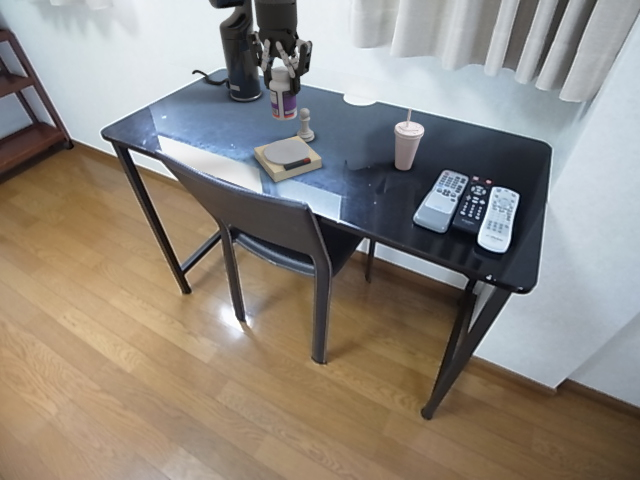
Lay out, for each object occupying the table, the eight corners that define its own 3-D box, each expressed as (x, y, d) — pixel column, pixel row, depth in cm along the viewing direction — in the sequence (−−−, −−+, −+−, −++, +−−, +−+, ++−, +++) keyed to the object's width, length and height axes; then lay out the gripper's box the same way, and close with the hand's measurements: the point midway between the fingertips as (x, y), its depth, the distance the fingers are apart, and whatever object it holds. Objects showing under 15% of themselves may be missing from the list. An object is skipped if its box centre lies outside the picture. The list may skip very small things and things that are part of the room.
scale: (254, 157, 91) (253, 144, 89) (298, 144, 95) (297, 132, 93) (275, 183, 83) (274, 170, 81) (322, 167, 88) (322, 155, 85)
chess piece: (294, 135, 98) (292, 105, 93) (311, 132, 99) (310, 103, 94) (299, 143, 95) (297, 114, 90) (316, 140, 96) (316, 111, 91)
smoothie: (393, 156, 91) (401, 100, 81) (419, 161, 89) (431, 105, 79) (386, 170, 87) (394, 113, 77) (413, 176, 85) (425, 118, 75)
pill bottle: (298, 110, 83) (296, 65, 76) (295, 122, 79) (292, 75, 72) (274, 109, 84) (270, 64, 77) (270, 121, 80) (265, 74, 73)
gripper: (229, -4, 66) (244, 91, 78) (298, 6, 61) (302, 105, 73) (255, -13, 70) (265, 78, 82) (321, -4, 65) (321, 91, 77)
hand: (282, 90), depth 78 cm, fingers closed on pill bottle, 5 cm apart
